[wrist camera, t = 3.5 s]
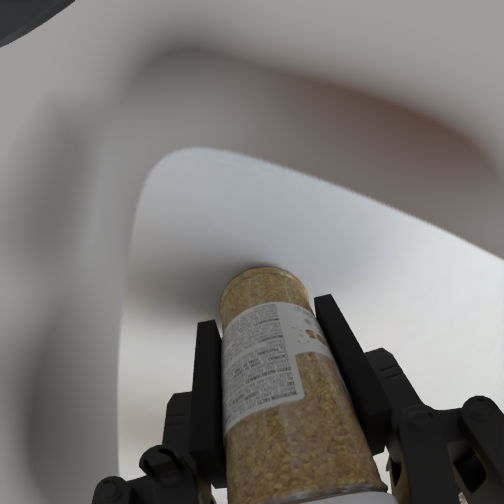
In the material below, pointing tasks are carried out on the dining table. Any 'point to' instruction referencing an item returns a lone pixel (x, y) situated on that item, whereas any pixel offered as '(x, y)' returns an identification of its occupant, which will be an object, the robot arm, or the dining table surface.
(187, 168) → the dining table surface
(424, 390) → the dining table surface
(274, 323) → the sprinkles bottle
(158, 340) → the dining table surface
